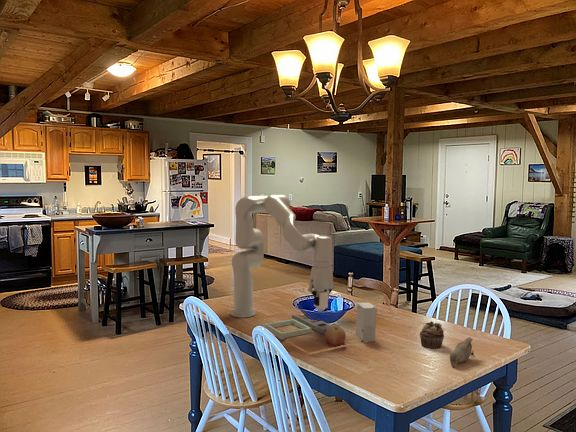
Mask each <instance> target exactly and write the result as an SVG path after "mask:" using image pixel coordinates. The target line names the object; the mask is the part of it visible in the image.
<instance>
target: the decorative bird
mask: <svg viewBox="0 0 576 432" xmlns="http://www.w3.org/2000/svg"><path fill="white" fill-rule="evenodd" d="M472 342H473V338H472V337H470V336H469V337H467V338H465V339H464V340H463V341H462V342H459V343H458V344H457V345H456V346H455V349H453V350H452V351H451V353H450V355H449V360H450V361H449V362H450V365H451V367H452V368H454V367H456V365H457V364H458V363H464V362H466V361H467V360H469V358H470V357H474V358H476V357H475V355H474V351H473V350H472V349H473V346H472V345H473V344H472Z"/></svg>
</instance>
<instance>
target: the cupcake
mask: <svg viewBox="0 0 576 432" xmlns="http://www.w3.org/2000/svg"><path fill="white" fill-rule="evenodd" d="M442 326H443V325H442V324H441V323H440V322H438V323H437V322H435V323H434V321H432V320H431V321H430V322H427V323H425V324H423V327H422V328H421V331H420V332H419V337H420V344H421V347H423V348H424V349H429V350H440V349H441V348H442V346H443V342H444V338H445V334H444V333H445V332H444V330H443V327H442Z"/></svg>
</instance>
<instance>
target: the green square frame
mask: <svg viewBox="0 0 576 432" xmlns="http://www.w3.org/2000/svg"><path fill="white" fill-rule="evenodd" d="M291 325H293V326H295V327H297V328H299V329H295V330H294V329H293V330H289V331H283V332H282V331H280V330H279V329H277V328H279V327H284V326H285V327H286V326H291ZM265 328H267V329H268V330H269V331H270V332H272V333H273V334H274V335H275V336H276V337H277V339H278V340H280V341H286V340H288V339H287V338H292V337H296V336H301V335H307V334H312V329H311V328H310V327H308V326H306V325H304V324H302V323H300V322H298V321H296V320H294V318H292V319H287V320H286V319H285V320H280V321H275V322H269V323H265V324H264V329H265ZM275 336H274V337H275ZM276 337H275V338H276Z"/></svg>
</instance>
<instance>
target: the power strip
mask: <svg viewBox="0 0 576 432" xmlns="http://www.w3.org/2000/svg"><path fill="white" fill-rule="evenodd" d="M304 314H305V313H299V314H296V315H294V314H292V315H291V317H292V319H294V320H296V321H298V322H300V323H302V324H304V325H306V326H308V327H310V328H311V330H313V331H315V332H317V333H319V334H321V335H325V333H326V330H327V329H328V328H329V327H330V326H332V325H331V324H330V323H327V322H325V321H323V320H321V321H317V320H311V319H309V318H307V317H306V316H305V315H304Z"/></svg>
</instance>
